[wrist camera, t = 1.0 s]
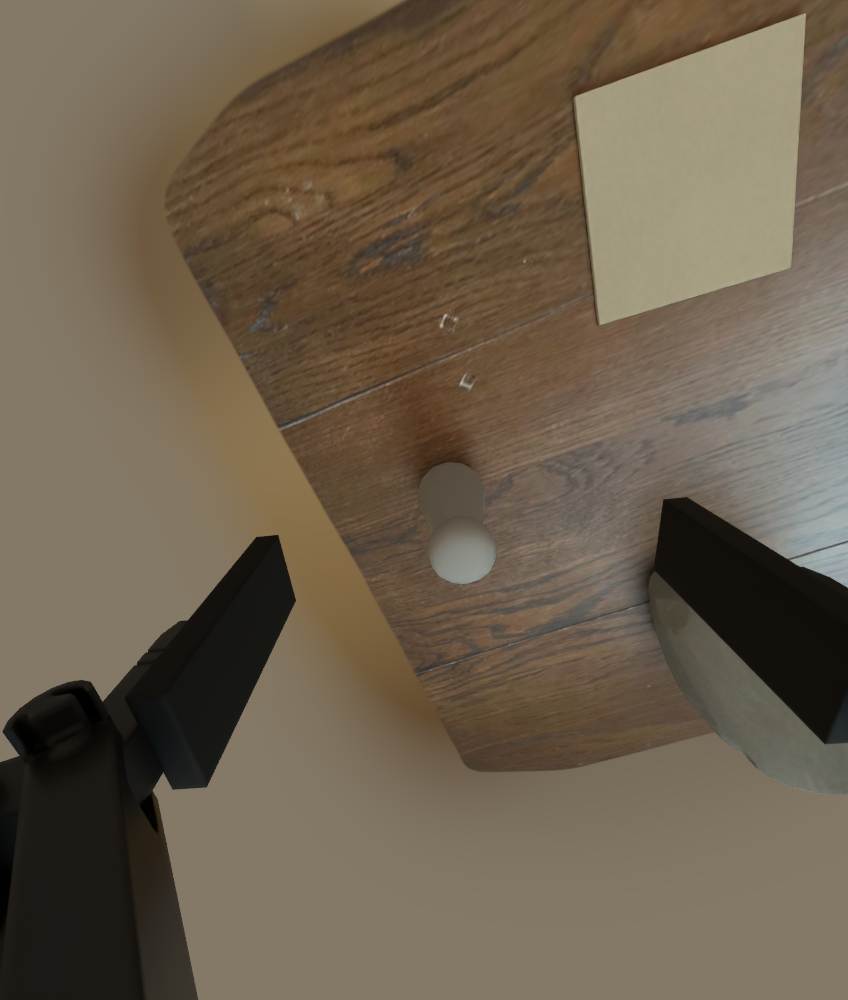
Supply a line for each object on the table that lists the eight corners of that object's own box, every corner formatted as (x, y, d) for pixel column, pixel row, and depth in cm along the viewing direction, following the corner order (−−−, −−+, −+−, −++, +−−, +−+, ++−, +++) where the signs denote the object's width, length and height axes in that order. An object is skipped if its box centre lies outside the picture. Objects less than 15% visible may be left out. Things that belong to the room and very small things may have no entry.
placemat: (597, 325, 31) (599, 325, 31) (572, 99, 26) (574, 96, 26) (786, 268, 30) (791, 267, 29) (800, 17, 24) (806, 12, 24)
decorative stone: (735, 512, 37) (919, 618, 23) (776, 636, 43) (944, 780, 29) (613, 570, 40) (715, 696, 26) (667, 680, 45) (776, 832, 32)
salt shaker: (429, 522, 38) (433, 610, 26) (408, 467, 36) (401, 536, 24) (489, 502, 37) (521, 584, 25) (470, 445, 35) (496, 505, 23)
